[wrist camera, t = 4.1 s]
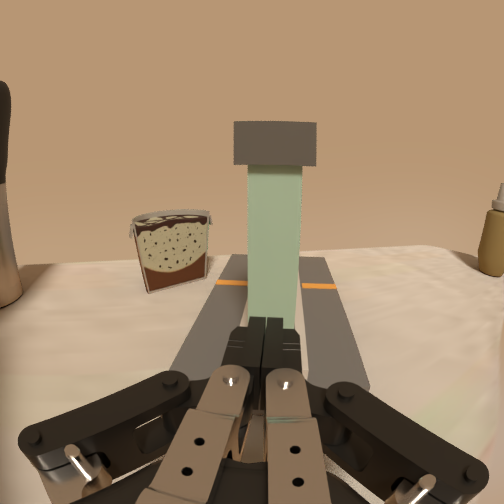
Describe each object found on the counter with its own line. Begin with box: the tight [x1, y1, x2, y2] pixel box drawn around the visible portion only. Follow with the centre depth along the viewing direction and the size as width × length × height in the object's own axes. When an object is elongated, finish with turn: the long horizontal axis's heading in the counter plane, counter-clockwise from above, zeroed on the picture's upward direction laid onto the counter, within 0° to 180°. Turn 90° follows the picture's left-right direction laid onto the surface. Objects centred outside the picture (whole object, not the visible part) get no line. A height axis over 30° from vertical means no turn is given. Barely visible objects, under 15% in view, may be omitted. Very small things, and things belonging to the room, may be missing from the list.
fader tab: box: [234, 121, 316, 329], centre depth 19 cm, size 4×5×16 cm
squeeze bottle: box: [478, 183, 504, 277], centre depth 41 cm, size 8×8×18 cm
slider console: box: [169, 254, 370, 415], centre depth 31 cm, size 14×28×4 cm, turn 174°
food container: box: [129, 209, 212, 294], centre depth 42 cm, size 12×6×10 cm, turn 130°
